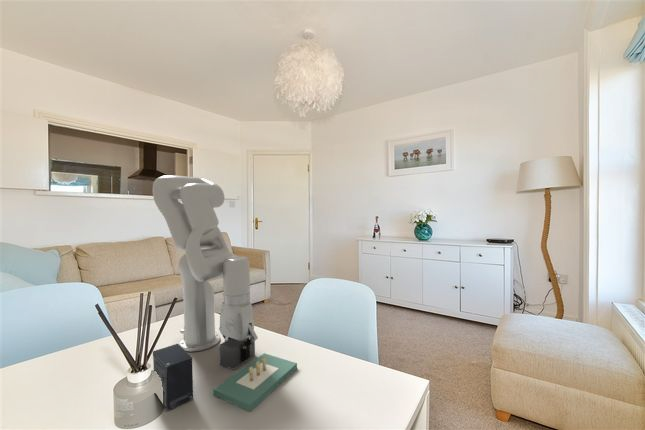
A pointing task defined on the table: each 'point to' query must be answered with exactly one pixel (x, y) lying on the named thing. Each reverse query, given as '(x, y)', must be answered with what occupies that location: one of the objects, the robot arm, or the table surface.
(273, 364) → the board
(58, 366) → the table surface
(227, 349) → the block
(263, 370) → the header pins
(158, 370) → the small box
